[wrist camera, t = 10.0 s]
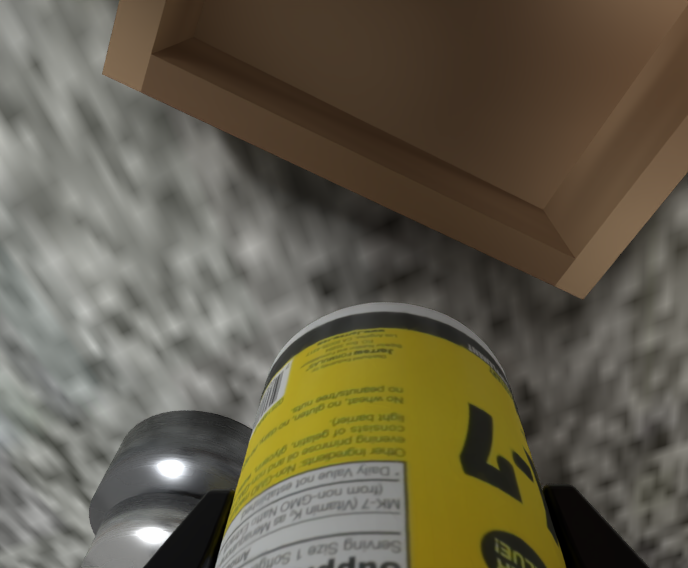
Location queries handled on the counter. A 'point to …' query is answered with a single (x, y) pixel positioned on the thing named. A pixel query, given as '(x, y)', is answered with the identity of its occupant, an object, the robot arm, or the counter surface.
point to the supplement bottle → (388, 453)
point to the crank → (137, 529)
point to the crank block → (173, 459)
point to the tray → (444, 108)
